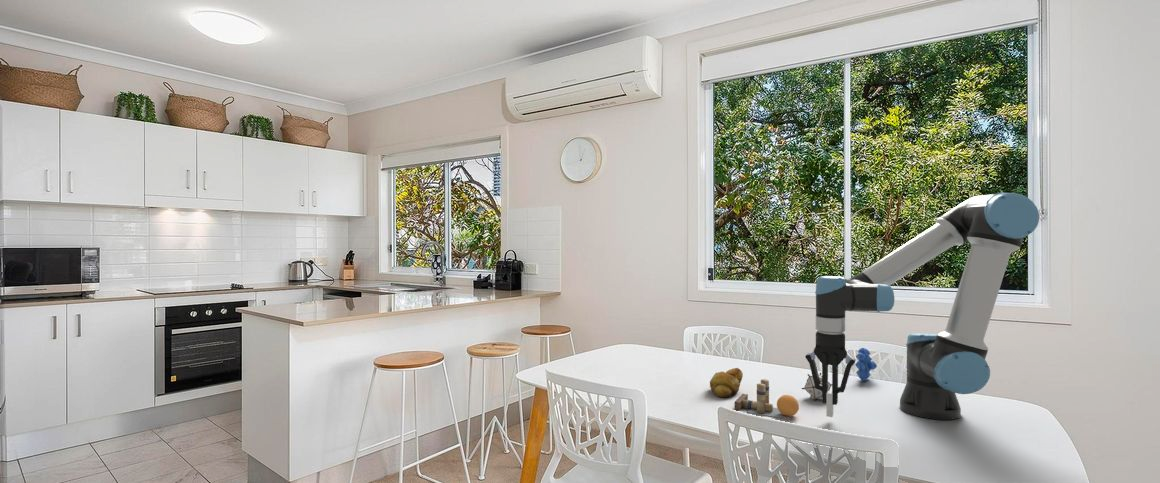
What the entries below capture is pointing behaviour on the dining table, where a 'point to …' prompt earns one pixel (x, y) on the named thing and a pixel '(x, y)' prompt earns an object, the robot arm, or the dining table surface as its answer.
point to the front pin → (753, 405)
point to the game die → (811, 387)
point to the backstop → (740, 401)
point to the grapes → (864, 364)
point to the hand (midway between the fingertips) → (829, 415)
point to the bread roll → (726, 382)
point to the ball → (787, 405)
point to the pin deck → (770, 413)
